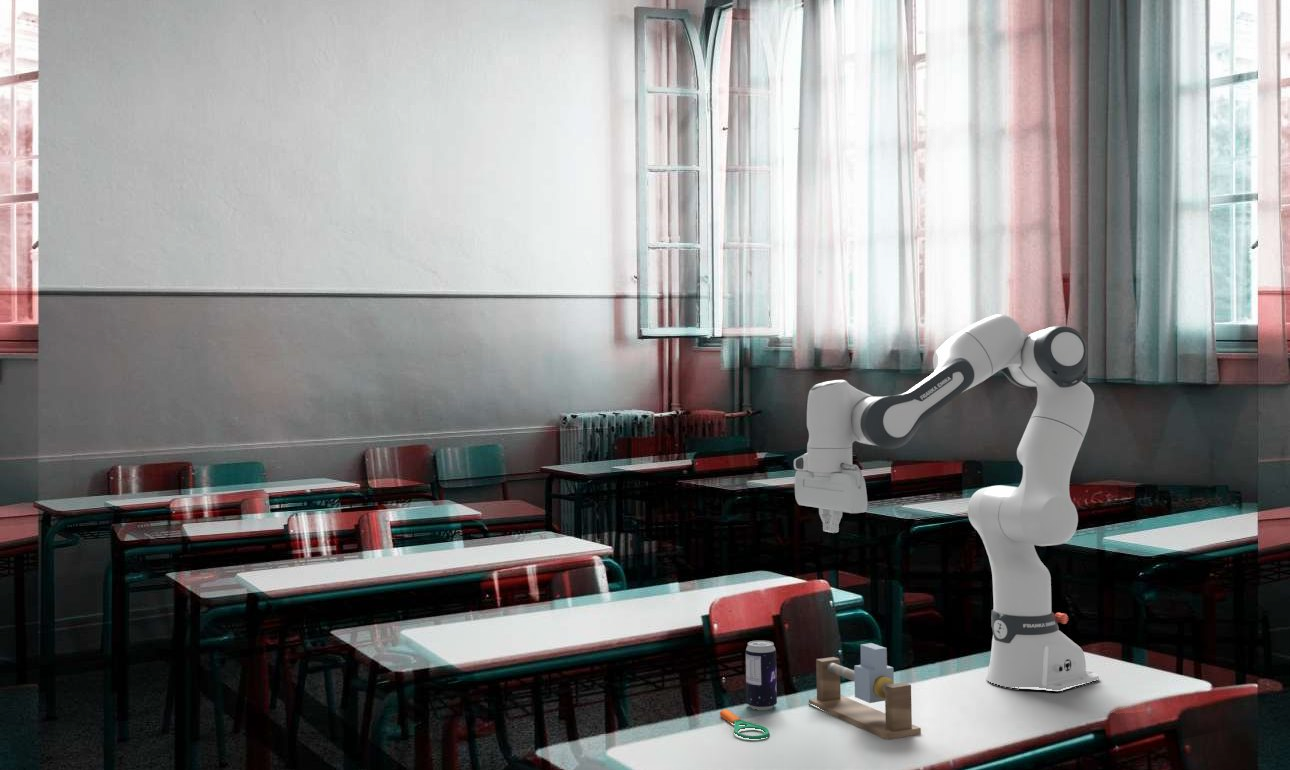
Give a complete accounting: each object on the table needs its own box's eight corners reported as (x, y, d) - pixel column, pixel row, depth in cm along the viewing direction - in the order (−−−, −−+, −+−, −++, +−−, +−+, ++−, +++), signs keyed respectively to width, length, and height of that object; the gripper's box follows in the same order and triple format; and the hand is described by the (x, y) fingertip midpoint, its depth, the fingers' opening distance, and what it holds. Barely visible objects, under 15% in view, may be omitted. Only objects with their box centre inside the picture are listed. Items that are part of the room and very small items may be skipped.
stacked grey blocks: (854, 697, 203) (853, 645, 203) (878, 693, 205) (877, 642, 205) (869, 703, 199) (868, 650, 199) (893, 699, 201) (893, 647, 201)
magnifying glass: (775, 740, 195) (775, 730, 195) (743, 744, 193) (743, 734, 193) (739, 716, 210) (739, 707, 210) (709, 720, 208) (709, 711, 208)
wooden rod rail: (808, 704, 215) (807, 657, 215) (839, 699, 218) (838, 652, 218) (887, 739, 193) (886, 686, 193) (920, 733, 196) (919, 681, 196)
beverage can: (775, 712, 211) (774, 647, 211) (744, 710, 212) (743, 646, 212) (778, 703, 216) (777, 640, 216) (748, 702, 217) (747, 639, 217)
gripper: (874, 464, 218) (876, 536, 218) (814, 458, 236) (815, 525, 236) (847, 465, 215) (848, 539, 215) (788, 460, 233) (789, 527, 233)
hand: (830, 532), depth 226 cm, fingers closed
